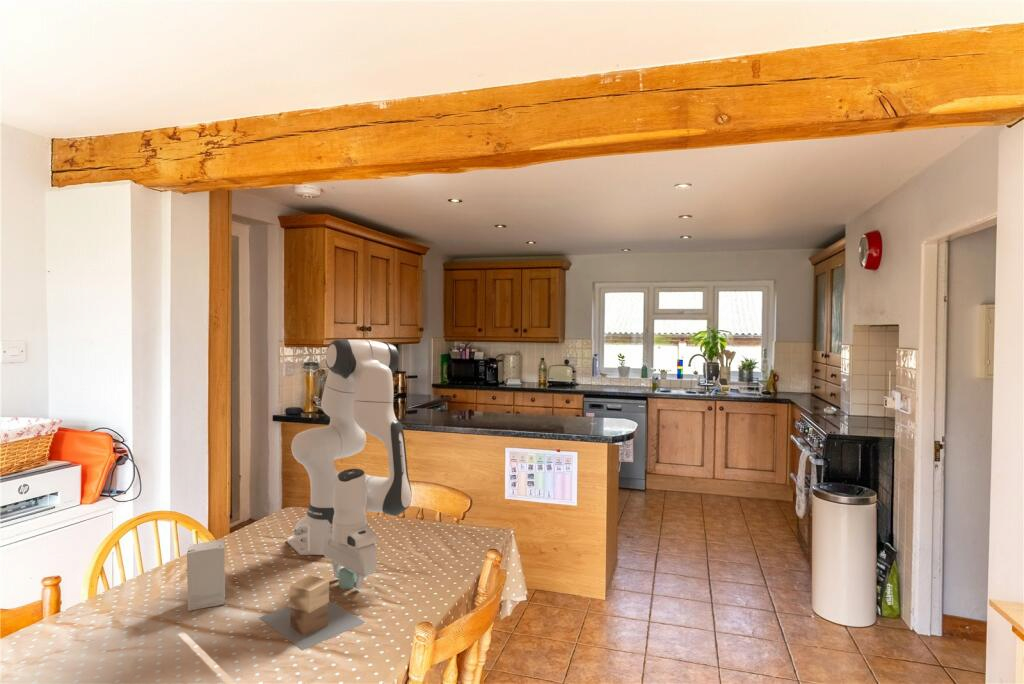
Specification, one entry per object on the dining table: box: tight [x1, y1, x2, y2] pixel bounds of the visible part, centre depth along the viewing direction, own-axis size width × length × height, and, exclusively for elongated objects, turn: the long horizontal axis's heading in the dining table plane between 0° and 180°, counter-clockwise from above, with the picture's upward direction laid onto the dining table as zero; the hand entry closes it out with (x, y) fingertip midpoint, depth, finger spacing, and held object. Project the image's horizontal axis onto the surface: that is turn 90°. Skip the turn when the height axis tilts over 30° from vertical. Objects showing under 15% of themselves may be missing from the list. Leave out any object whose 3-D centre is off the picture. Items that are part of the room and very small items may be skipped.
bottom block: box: [290, 603, 328, 636], centre depth 127 cm, size 6×6×5 cm
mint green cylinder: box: [338, 567, 357, 590], centre depth 149 cm, size 5×5×5 cm
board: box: [258, 599, 367, 651], centre depth 130 cm, size 20×16×1 cm
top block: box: [289, 574, 330, 613], centre depth 127 cm, size 6×6×5 cm
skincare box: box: [186, 539, 226, 612], centre depth 138 cm, size 8×6×15 cm
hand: (347, 582), depth 149 cm, fingers open, 8 cm apart
